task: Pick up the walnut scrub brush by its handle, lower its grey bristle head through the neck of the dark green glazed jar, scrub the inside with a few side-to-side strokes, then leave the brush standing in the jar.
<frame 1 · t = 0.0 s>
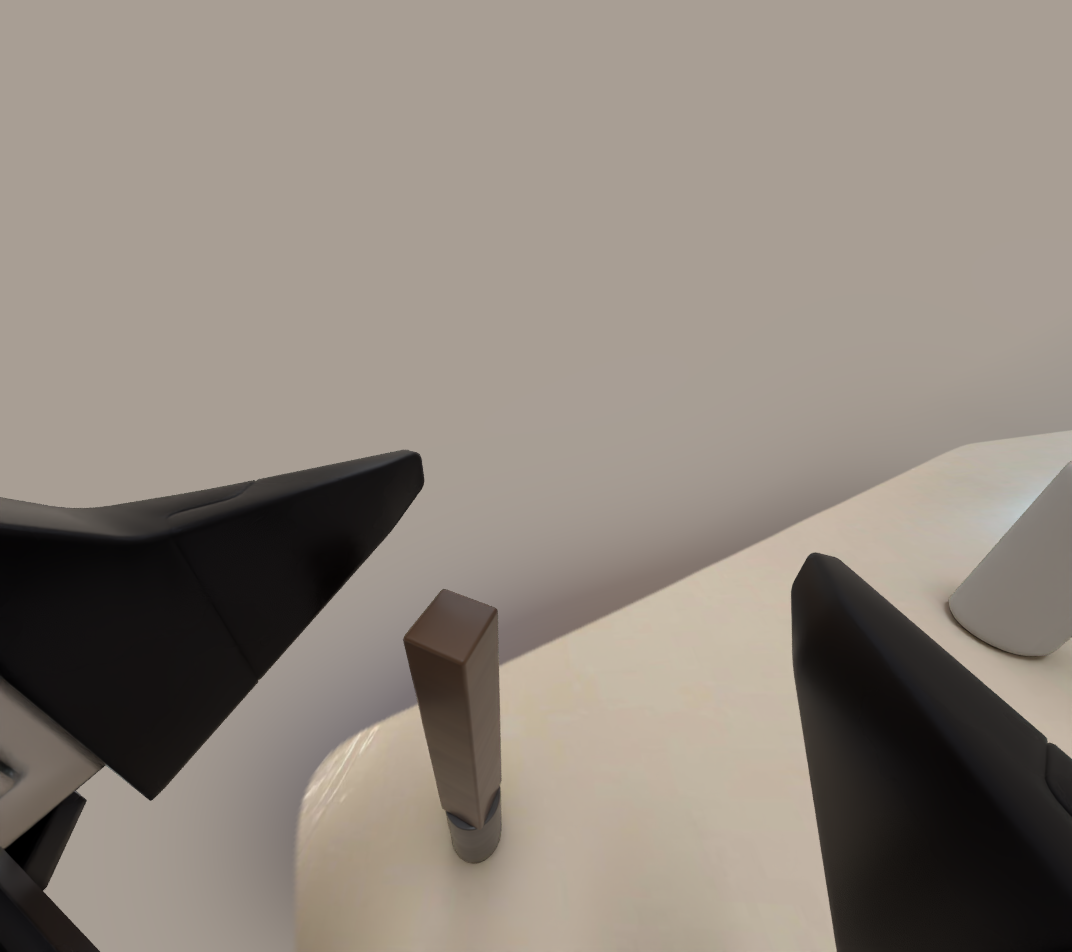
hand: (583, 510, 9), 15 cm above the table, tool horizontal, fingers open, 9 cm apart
beverage can: (990, 629, 25), on the table
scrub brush: (476, 829, 15), on the table
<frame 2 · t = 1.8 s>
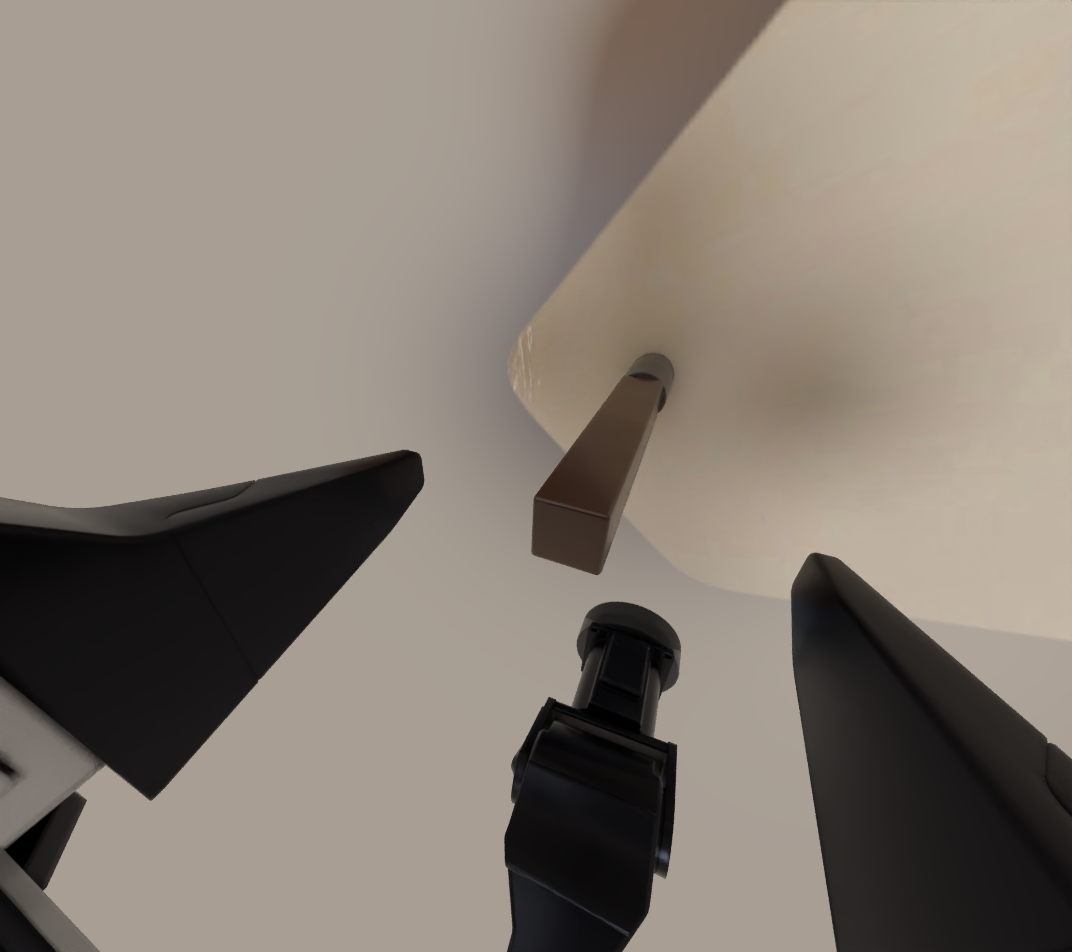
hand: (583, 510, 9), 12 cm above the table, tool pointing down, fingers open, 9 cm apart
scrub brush: (651, 374, 18), on the table
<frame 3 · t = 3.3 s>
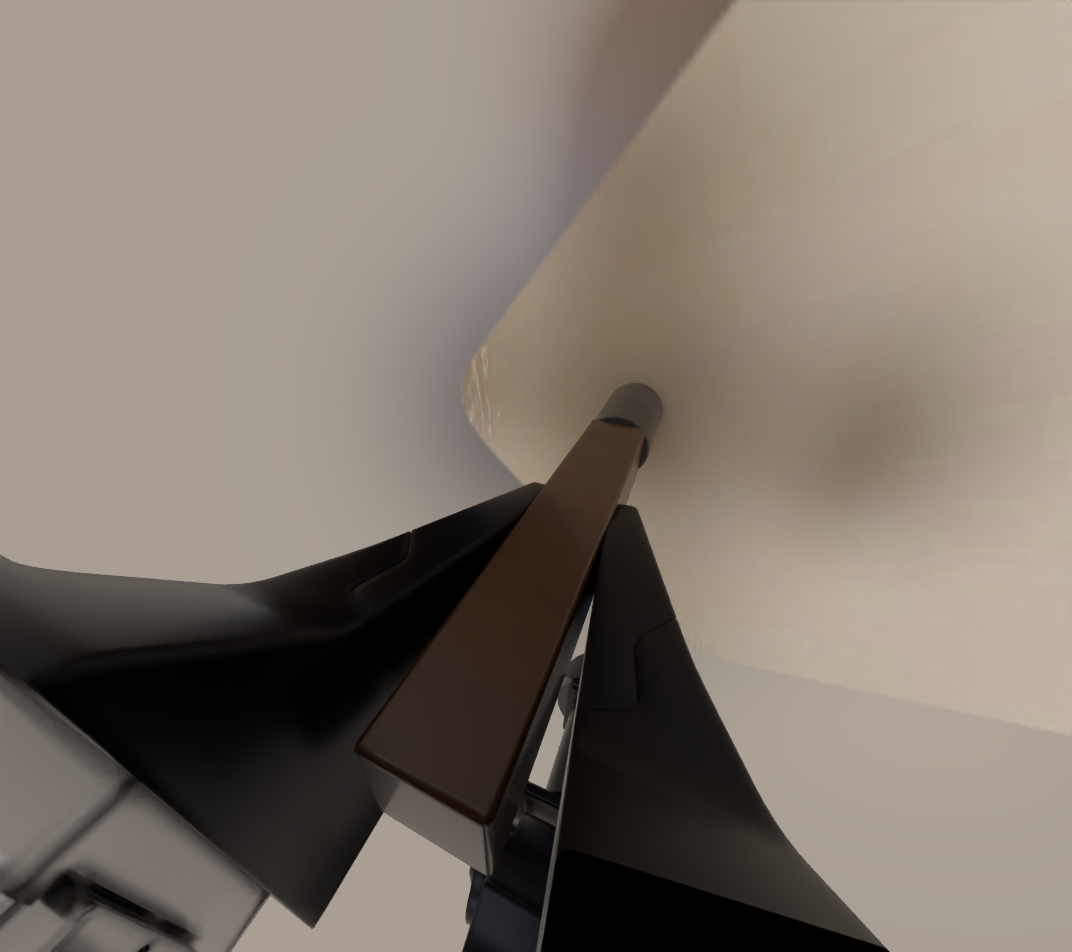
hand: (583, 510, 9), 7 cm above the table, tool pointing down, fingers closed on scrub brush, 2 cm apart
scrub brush: (634, 409, 14), on the table, touching gripper
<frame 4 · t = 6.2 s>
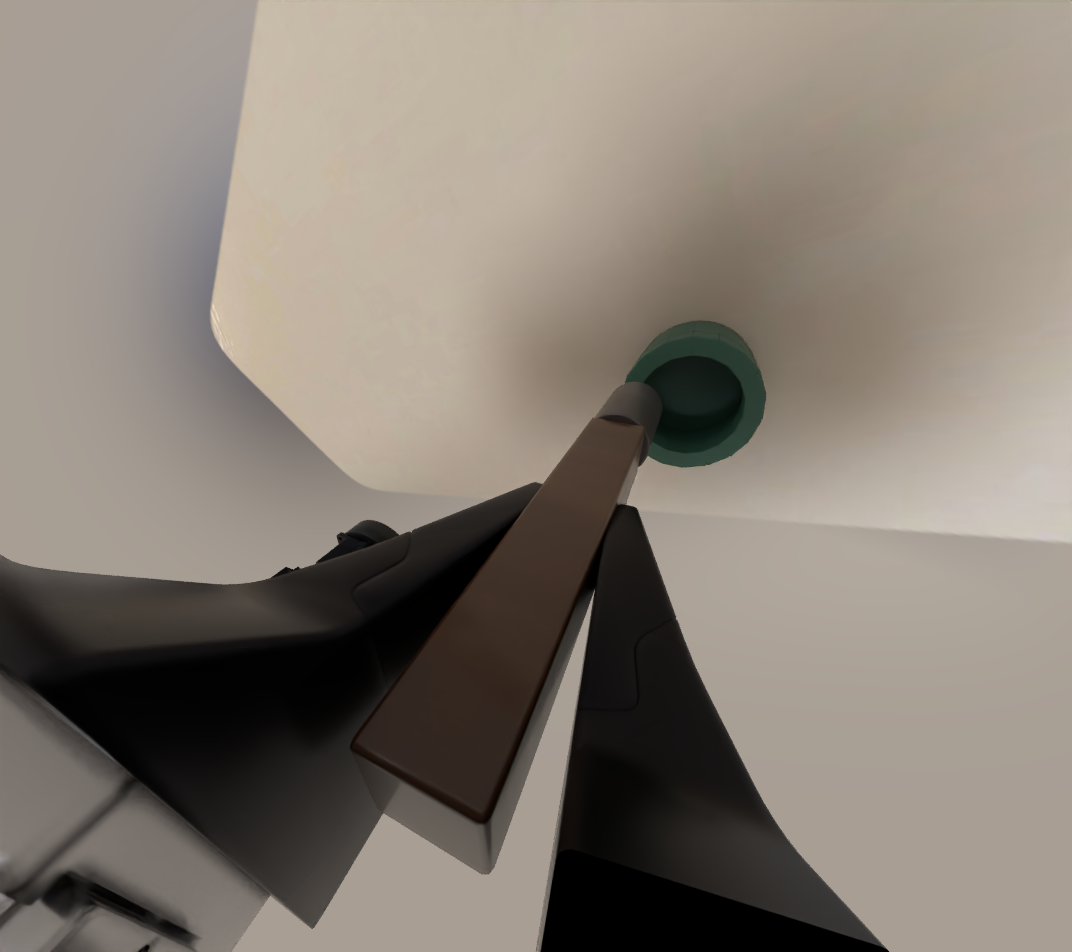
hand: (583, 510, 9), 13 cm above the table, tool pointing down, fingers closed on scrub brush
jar: (691, 378, 19), on the table
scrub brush: (634, 407, 14), point 6 cm above the table, touching gripper
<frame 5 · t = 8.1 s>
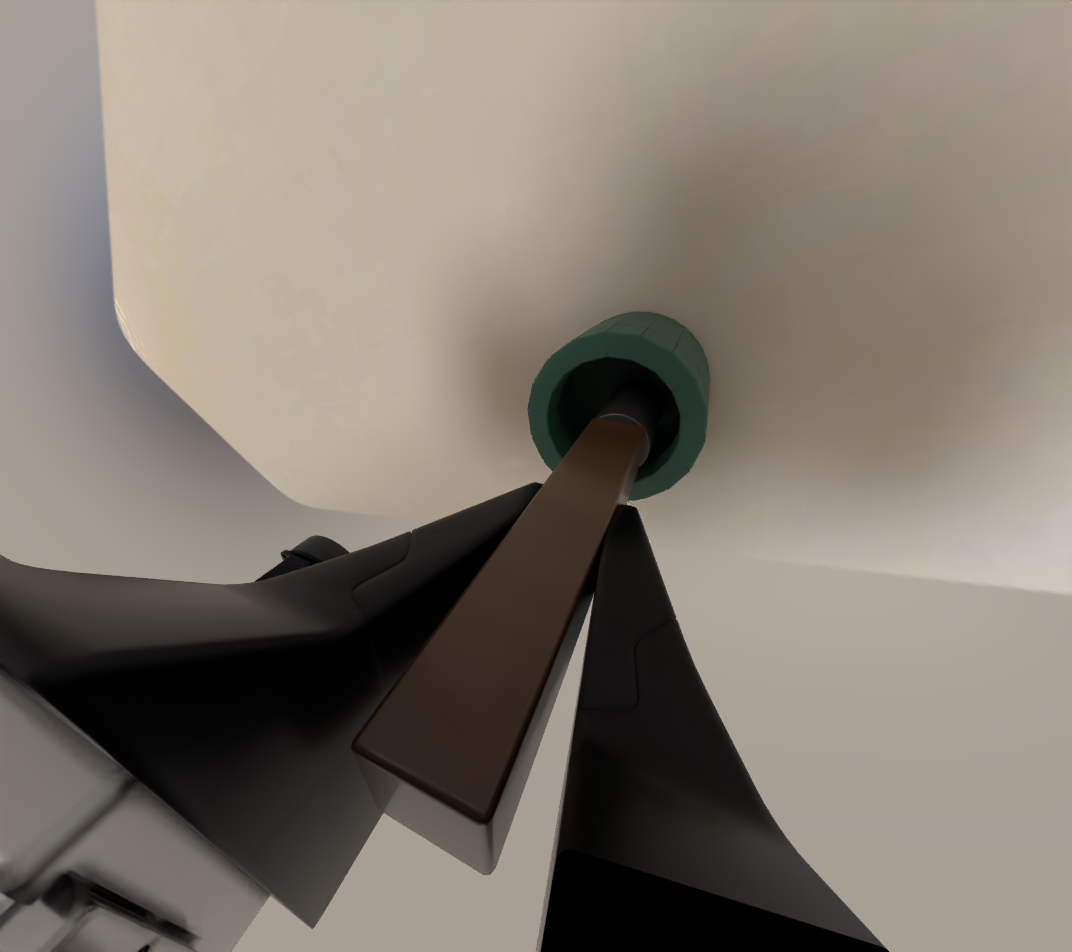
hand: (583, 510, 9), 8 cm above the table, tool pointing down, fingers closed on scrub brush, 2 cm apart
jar: (634, 384, 15), on the table
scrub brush: (635, 407, 14), point 1 cm above the table, touching gripper
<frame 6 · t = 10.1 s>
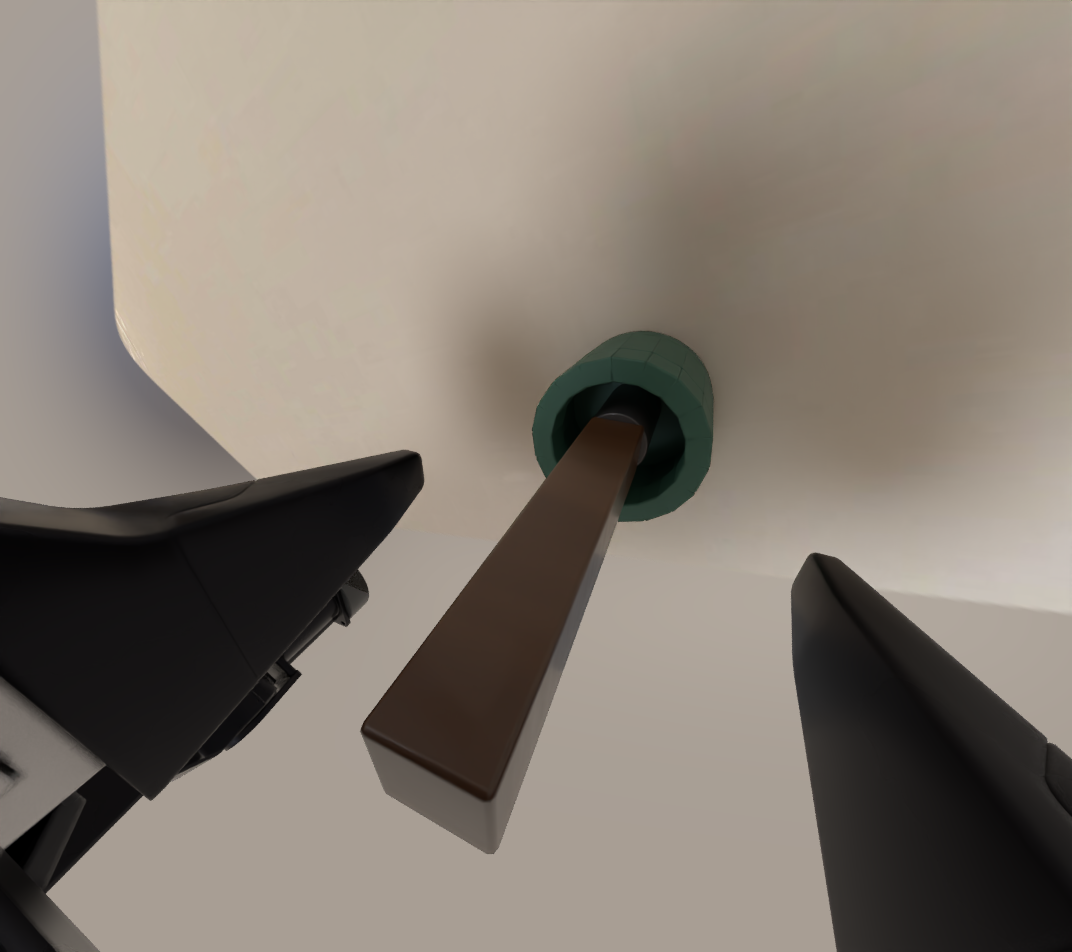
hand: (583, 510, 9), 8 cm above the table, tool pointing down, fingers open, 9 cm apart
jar: (638, 402, 15), on the table
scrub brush: (633, 407, 14), point 1 cm above the table, touching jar
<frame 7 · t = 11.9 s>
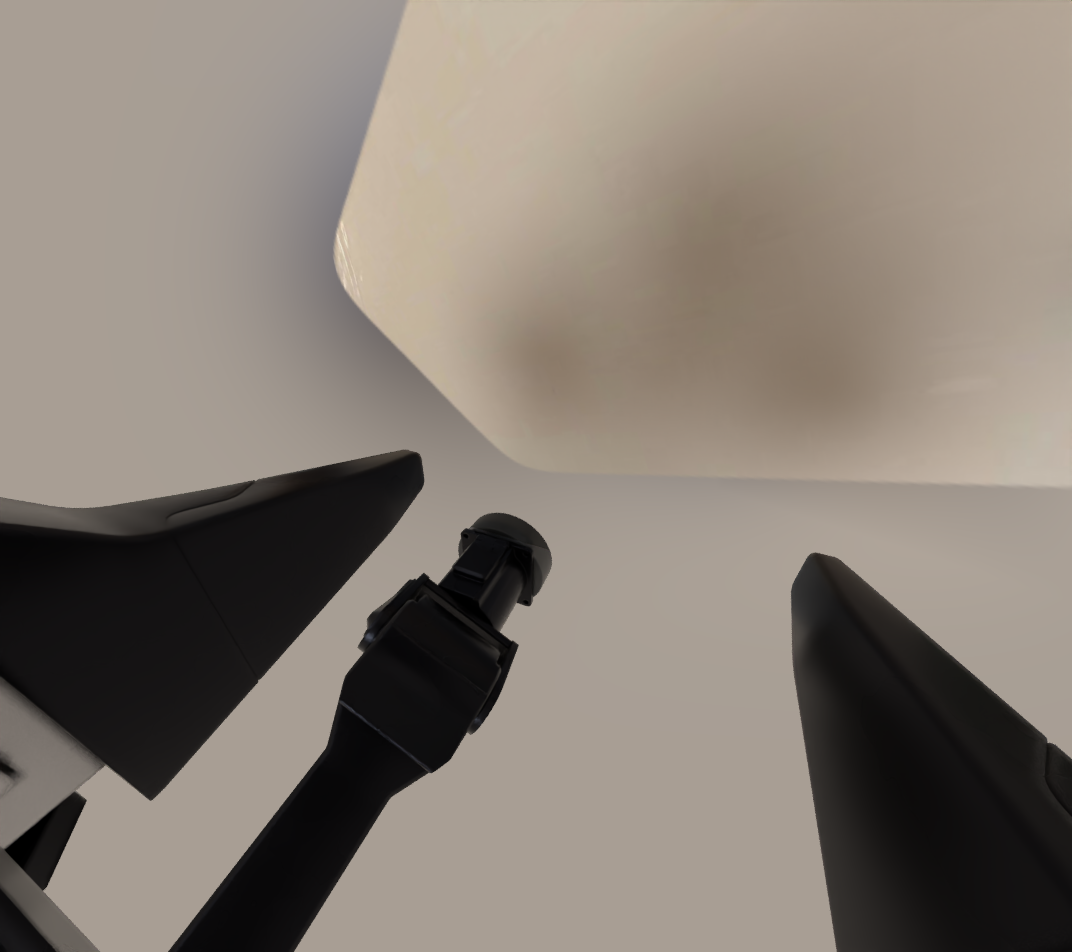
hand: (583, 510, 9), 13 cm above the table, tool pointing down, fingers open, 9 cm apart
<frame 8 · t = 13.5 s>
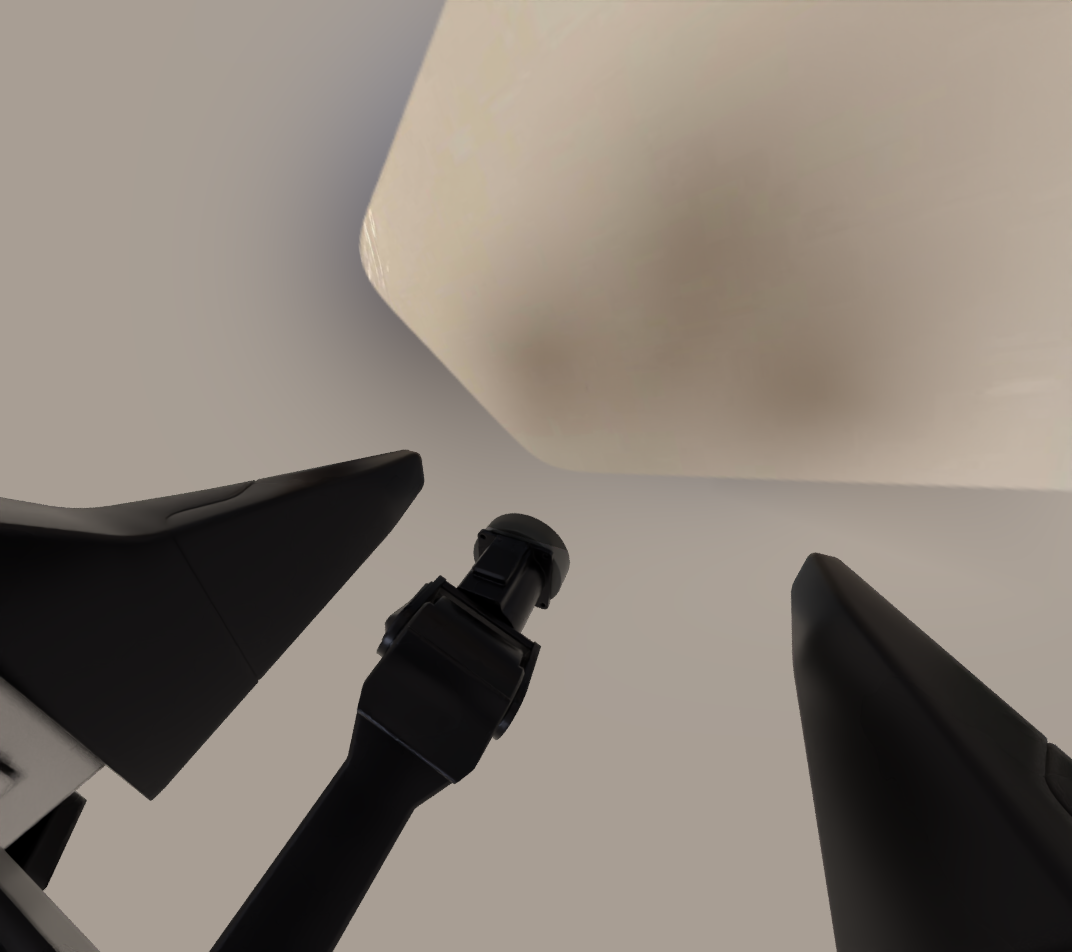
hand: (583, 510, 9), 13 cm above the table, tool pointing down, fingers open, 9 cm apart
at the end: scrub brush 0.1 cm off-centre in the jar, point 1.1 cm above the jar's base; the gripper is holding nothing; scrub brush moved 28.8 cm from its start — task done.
